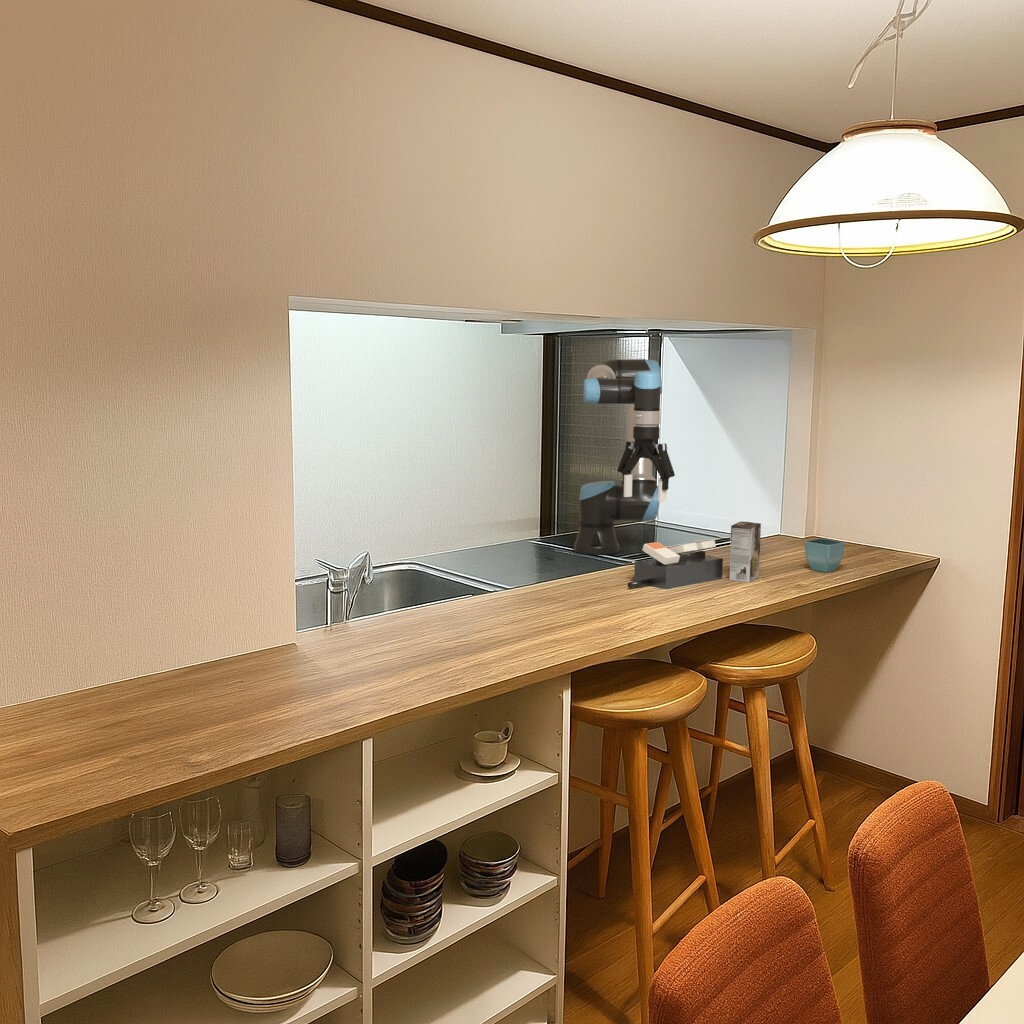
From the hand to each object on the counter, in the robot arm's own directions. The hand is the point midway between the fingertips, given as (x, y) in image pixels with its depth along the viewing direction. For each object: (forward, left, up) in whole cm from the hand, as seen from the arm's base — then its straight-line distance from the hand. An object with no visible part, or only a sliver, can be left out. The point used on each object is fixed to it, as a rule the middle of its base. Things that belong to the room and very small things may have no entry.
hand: (644, 499), depth 284 cm
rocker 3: (+11, +12, -15) cm, 22 cm away
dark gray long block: (+11, 0, -23) cm, 25 cm away
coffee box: (+21, +21, -23) cm, 37 cm away
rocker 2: (+11, +4, -15) cm, 19 cm away
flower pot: (+28, +50, -23) cm, 61 cm away
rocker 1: (+11, -4, -15) cm, 19 cm away
